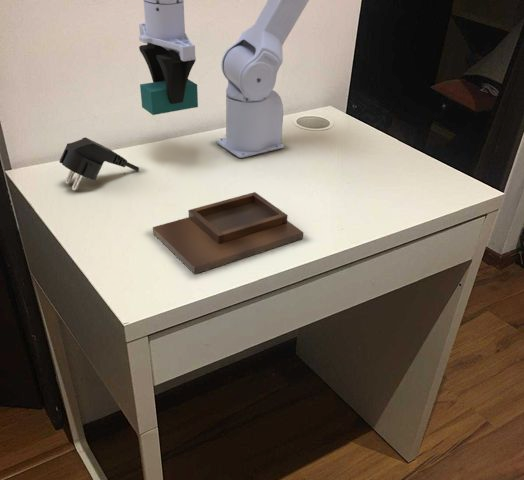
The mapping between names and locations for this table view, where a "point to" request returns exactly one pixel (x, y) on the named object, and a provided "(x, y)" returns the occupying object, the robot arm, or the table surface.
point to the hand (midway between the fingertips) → (169, 98)
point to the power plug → (88, 160)
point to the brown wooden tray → (227, 232)
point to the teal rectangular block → (166, 98)
